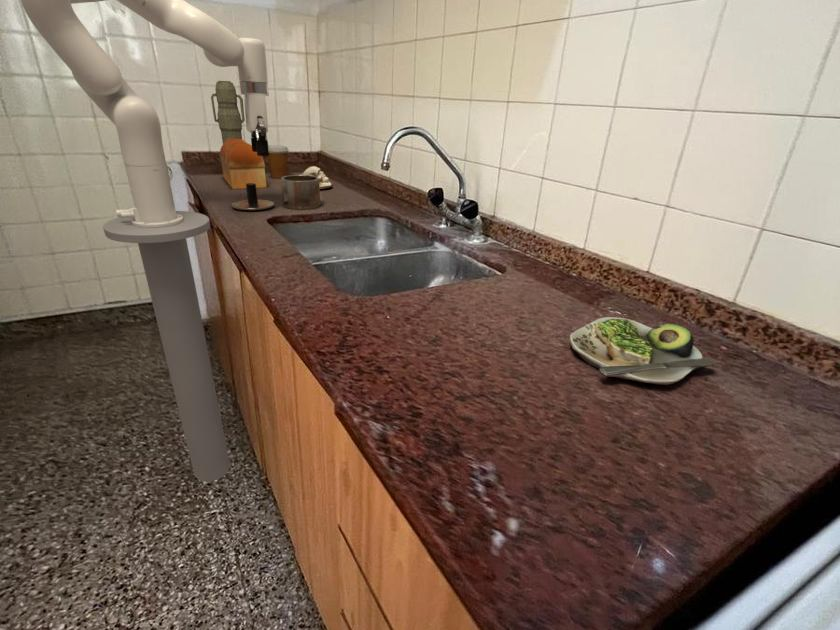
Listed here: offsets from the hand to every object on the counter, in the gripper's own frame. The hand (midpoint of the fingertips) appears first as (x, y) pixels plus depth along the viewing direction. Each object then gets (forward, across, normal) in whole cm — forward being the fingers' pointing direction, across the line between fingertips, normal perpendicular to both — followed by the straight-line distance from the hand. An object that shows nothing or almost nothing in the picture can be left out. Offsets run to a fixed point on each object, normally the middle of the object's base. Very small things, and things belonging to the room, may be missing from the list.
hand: (260, 153), depth 134 cm
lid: (+15, 0, -4) cm, 16 cm away
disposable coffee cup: (+16, -52, +14) cm, 57 cm away
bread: (+16, -43, -1) cm, 46 cm away
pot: (+16, +1, +11) cm, 19 cm away
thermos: (+16, -66, -1) cm, 68 cm away
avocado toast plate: (+16, +110, +36) cm, 117 cm away
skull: (+16, -26, +23) cm, 39 cm away
